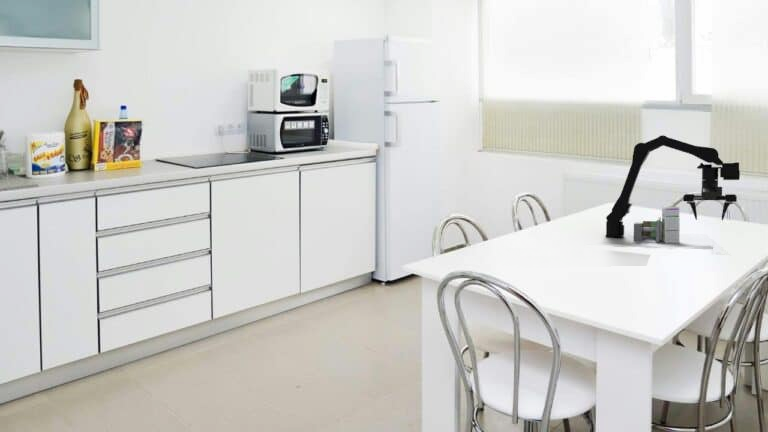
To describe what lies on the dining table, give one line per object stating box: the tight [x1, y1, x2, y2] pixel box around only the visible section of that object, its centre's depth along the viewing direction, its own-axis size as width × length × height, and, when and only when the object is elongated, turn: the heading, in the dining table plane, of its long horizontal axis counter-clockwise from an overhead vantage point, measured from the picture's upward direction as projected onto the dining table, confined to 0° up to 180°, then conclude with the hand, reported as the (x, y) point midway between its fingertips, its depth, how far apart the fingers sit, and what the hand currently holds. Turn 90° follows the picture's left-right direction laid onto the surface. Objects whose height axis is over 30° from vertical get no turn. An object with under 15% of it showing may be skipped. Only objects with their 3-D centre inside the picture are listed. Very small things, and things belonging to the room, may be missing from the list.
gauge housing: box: [633, 220, 662, 242], centre depth 274 cm, size 10×11×8 cm
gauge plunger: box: [642, 216, 662, 243], centre depth 275 cm, size 10×13×9 cm
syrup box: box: [661, 205, 681, 244], centre depth 269 cm, size 6×6×14 cm
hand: (709, 220), depth 263 cm, fingers open, 9 cm apart
